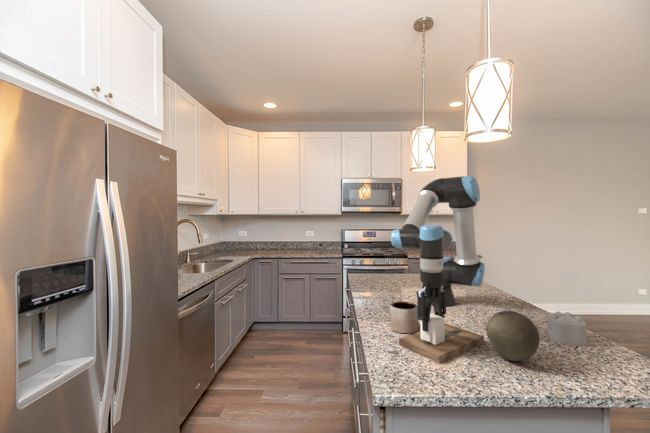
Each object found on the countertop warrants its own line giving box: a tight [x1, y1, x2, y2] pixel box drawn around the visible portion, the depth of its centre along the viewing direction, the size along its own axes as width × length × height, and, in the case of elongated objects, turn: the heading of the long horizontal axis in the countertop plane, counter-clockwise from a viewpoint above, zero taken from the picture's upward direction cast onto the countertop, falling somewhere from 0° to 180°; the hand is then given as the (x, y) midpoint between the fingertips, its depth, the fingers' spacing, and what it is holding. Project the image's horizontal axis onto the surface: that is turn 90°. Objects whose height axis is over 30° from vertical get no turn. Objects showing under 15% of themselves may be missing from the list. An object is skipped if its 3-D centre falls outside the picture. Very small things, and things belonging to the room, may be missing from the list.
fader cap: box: [419, 312, 445, 345], centre depth 103 cm, size 5×6×8 cm
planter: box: [389, 301, 420, 335], centre depth 120 cm, size 11×11×10 cm
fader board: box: [398, 322, 485, 364], centre depth 105 cm, size 26×16×2 cm, turn 124°
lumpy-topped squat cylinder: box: [546, 311, 588, 347], centre depth 109 cm, size 10×13×9 cm
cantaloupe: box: [486, 310, 541, 362], centre depth 93 cm, size 14×14×15 cm
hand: (432, 338), depth 103 cm, fingers closed on fader cap, 5 cm apart
